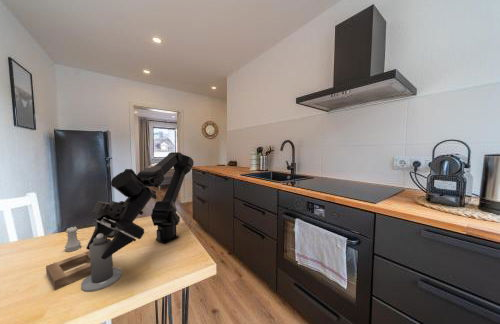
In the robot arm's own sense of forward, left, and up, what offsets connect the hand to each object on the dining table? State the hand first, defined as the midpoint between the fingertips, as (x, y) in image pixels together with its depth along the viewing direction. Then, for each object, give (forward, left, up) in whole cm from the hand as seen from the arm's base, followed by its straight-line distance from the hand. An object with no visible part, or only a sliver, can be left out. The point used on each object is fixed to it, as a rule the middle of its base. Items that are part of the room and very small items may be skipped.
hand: (94, 253), depth 51 cm
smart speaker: (-15, -31, -8) cm, 36 cm away
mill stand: (+2, -11, -8) cm, 14 cm away
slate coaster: (-1, 0, -8) cm, 8 cm away
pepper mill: (-1, 0, -8) cm, 8 cm away
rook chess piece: (-1, -29, -8) cm, 30 cm away
